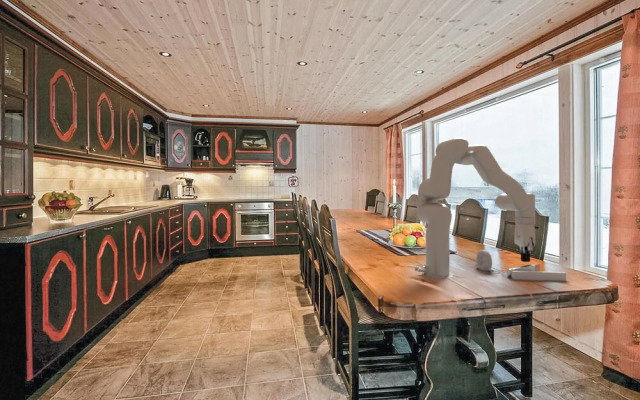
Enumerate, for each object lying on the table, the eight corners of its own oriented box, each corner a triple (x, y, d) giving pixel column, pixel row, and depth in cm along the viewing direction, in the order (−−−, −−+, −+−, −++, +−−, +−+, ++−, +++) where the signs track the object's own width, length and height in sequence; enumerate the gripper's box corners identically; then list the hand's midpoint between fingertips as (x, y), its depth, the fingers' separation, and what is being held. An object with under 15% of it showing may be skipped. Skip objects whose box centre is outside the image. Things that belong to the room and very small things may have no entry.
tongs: (511, 283, 124) (511, 273, 124) (499, 275, 136) (499, 265, 136) (570, 285, 121) (570, 274, 121) (552, 276, 133) (553, 266, 133)
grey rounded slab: (493, 274, 137) (493, 252, 137) (485, 274, 137) (485, 252, 137) (482, 268, 147) (482, 247, 147) (474, 269, 147) (474, 247, 147)
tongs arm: (510, 277, 128) (510, 270, 128) (506, 276, 130) (506, 268, 129) (540, 271, 136) (540, 264, 136) (535, 270, 138) (535, 263, 138)
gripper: (508, 219, 149) (509, 257, 150) (523, 222, 134) (524, 265, 135) (526, 218, 148) (526, 257, 149) (543, 222, 133) (543, 265, 134)
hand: (525, 261), depth 142 cm, fingers closed
